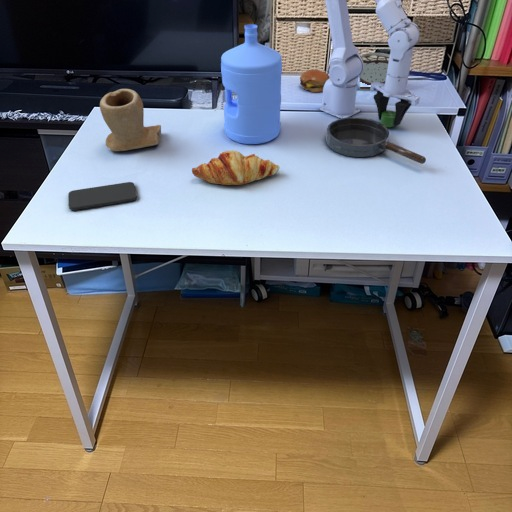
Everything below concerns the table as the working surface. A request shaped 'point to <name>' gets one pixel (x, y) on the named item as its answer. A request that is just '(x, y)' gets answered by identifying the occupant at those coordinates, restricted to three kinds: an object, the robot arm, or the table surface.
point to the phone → (101, 196)
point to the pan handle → (403, 152)
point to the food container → (374, 69)
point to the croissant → (235, 169)
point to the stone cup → (127, 121)
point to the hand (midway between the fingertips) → (389, 121)
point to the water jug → (252, 90)
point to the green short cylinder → (388, 118)
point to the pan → (356, 136)
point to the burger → (314, 80)
